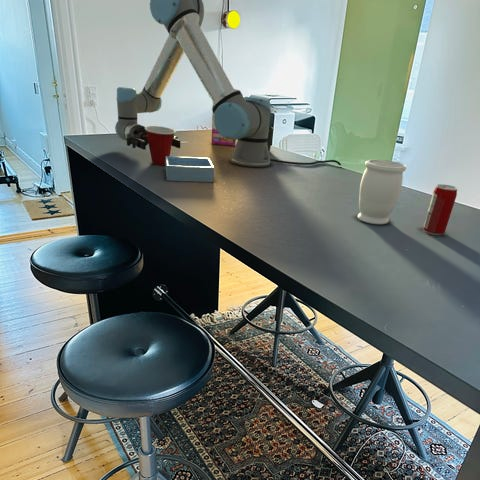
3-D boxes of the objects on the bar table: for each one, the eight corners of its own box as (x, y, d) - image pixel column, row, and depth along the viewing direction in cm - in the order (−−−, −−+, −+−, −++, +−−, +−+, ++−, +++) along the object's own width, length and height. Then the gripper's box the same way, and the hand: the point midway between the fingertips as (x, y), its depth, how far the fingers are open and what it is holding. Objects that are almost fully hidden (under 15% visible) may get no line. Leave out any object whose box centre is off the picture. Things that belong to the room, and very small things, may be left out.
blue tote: (208, 171, 157) (209, 158, 154) (213, 182, 144) (214, 167, 142) (165, 169, 154) (165, 156, 152) (167, 180, 141) (166, 165, 139)
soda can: (448, 235, 114) (464, 188, 108) (431, 236, 113) (445, 188, 107) (435, 228, 119) (449, 182, 113) (417, 228, 117) (431, 182, 111)
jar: (385, 229, 115) (400, 169, 107) (348, 220, 119) (359, 162, 112) (396, 219, 123) (411, 163, 115) (360, 211, 127) (372, 157, 120)
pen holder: (251, 148, 204) (253, 124, 199) (271, 150, 203) (273, 126, 198) (248, 151, 196) (250, 127, 191) (269, 153, 195) (272, 129, 190)
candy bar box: (236, 145, 209) (239, 106, 200) (234, 146, 204) (237, 107, 196) (213, 142, 210) (214, 104, 201) (211, 144, 206) (212, 105, 197)
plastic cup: (160, 168, 156) (159, 131, 149) (139, 162, 161) (138, 126, 155) (181, 164, 163) (182, 129, 157) (161, 159, 168) (160, 125, 162)
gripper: (167, 144, 180) (192, 154, 166) (107, 146, 167) (129, 157, 153) (167, 124, 177) (193, 133, 162) (106, 124, 164) (128, 134, 149)
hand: (162, 145), depth 157 cm, fingers open, 13 cm apart
